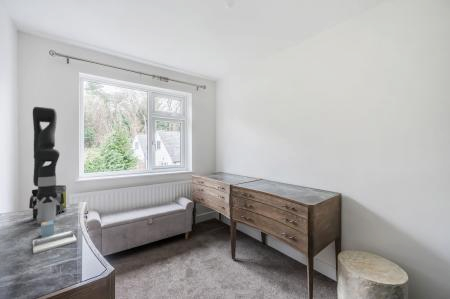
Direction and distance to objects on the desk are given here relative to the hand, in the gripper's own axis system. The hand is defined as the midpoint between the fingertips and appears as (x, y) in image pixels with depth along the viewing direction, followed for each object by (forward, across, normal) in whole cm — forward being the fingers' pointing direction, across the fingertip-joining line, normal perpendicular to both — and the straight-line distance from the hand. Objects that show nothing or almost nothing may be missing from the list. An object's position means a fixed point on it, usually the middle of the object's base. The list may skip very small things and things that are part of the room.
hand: (47, 213), depth 108 cm
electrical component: (+12, -4, -44) cm, 46 cm away
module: (+12, 0, 0) cm, 12 cm away
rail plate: (+12, -2, +14) cm, 18 cm away
